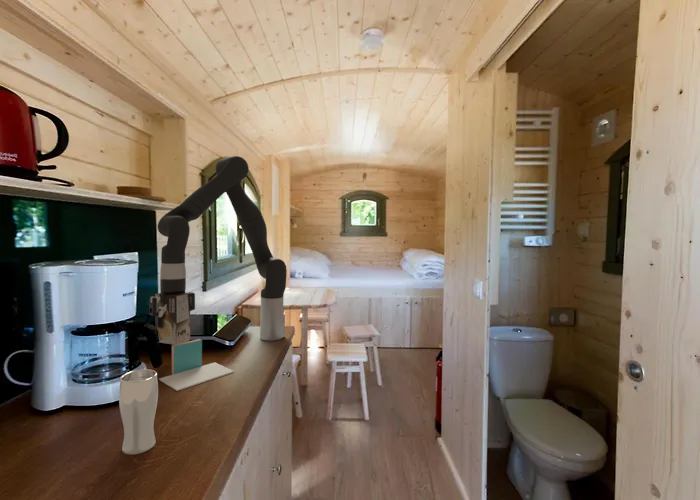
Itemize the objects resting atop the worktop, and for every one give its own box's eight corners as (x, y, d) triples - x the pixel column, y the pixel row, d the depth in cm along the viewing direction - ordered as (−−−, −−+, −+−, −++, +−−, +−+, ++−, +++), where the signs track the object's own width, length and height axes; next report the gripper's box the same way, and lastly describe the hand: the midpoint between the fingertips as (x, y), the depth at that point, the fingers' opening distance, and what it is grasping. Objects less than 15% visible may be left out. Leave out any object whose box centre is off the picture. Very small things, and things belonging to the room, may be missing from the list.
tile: (199, 365, 119) (199, 338, 119) (201, 367, 118) (202, 339, 118) (171, 373, 112) (171, 345, 112) (174, 375, 111) (174, 346, 111)
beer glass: (149, 432, 81) (149, 366, 80) (164, 445, 76) (163, 375, 75) (114, 446, 75) (113, 375, 74) (127, 460, 71) (126, 385, 70)
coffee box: (191, 340, 122) (191, 292, 122) (176, 345, 116) (177, 296, 115) (169, 336, 125) (169, 290, 124) (154, 342, 119) (154, 293, 118)
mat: (215, 363, 122) (215, 362, 122) (234, 372, 115) (234, 371, 115) (159, 379, 108) (159, 378, 108) (177, 391, 101) (177, 389, 101)
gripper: (188, 273, 128) (188, 319, 128) (145, 277, 116) (145, 327, 117) (199, 276, 123) (199, 324, 124) (155, 279, 112) (155, 332, 113)
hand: (172, 325), depth 121 cm, fingers closed on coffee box, 7 cm apart
